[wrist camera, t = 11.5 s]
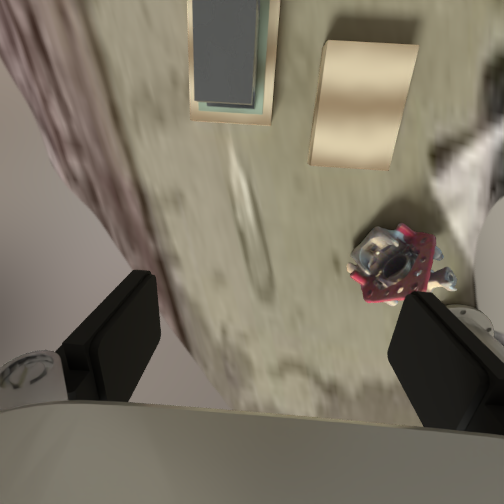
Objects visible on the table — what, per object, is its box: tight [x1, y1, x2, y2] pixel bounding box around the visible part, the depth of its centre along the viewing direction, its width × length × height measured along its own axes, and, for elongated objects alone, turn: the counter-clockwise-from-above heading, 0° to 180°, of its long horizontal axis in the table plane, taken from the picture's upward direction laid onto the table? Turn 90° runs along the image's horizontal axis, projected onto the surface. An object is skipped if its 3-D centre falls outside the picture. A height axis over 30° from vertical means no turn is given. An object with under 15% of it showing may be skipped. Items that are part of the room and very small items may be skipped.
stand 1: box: [187, 0, 280, 126], centre depth 30 cm, size 12×9×3 cm
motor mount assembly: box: [347, 223, 457, 306], centre depth 36 cm, size 11×11×12 cm
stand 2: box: [307, 40, 419, 171], centre depth 31 cm, size 12×9×3 cm
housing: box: [192, 0, 260, 110], centre depth 25 cm, size 9×5×7 cm, turn 177°
